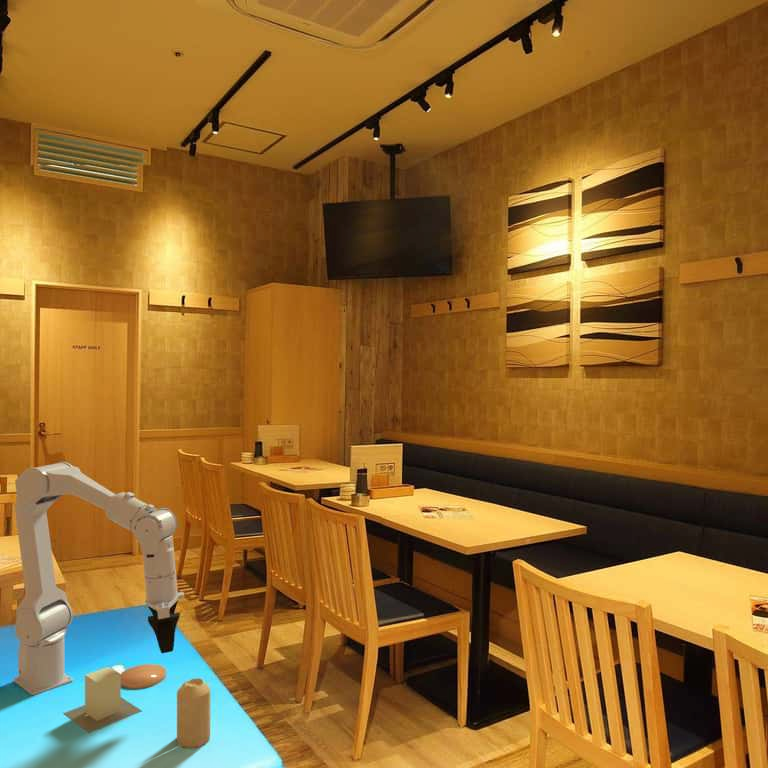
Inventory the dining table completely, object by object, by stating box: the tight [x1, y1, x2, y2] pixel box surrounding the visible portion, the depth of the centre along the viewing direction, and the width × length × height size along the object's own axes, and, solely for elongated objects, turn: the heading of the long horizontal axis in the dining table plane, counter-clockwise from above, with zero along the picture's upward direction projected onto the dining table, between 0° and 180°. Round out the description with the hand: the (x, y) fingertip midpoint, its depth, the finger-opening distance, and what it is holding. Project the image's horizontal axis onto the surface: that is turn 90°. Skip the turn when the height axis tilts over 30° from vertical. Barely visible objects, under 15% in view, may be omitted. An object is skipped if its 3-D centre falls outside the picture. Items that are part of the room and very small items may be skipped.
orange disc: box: [120, 663, 167, 690], centre depth 137 cm, size 9×9×1 cm
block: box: [84, 666, 122, 721], centre depth 124 cm, size 4×4×7 cm
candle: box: [176, 678, 211, 749], centre depth 115 cm, size 6×6×10 cm
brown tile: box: [62, 696, 143, 734], centre depth 124 cm, size 10×10×1 cm
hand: (166, 644), depth 129 cm, fingers open, 7 cm apart
